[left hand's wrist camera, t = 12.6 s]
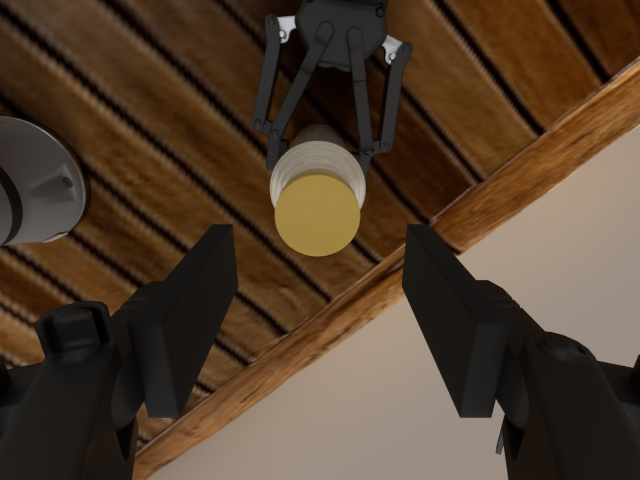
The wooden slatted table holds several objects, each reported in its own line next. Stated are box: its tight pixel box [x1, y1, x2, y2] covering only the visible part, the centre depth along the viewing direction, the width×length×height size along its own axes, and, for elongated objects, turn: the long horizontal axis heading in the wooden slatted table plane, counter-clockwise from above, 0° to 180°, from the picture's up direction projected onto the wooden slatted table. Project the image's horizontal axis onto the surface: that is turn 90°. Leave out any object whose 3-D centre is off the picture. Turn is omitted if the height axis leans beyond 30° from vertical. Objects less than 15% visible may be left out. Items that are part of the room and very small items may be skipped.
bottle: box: [270, 124, 366, 209], centre depth 31 cm, size 7×7×26 cm
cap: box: [275, 168, 360, 256], centre depth 19 cm, size 4×5×2 cm
